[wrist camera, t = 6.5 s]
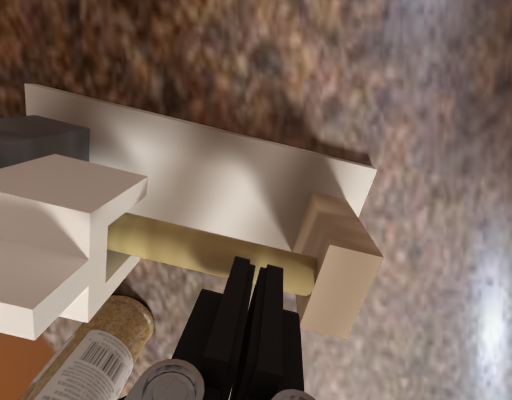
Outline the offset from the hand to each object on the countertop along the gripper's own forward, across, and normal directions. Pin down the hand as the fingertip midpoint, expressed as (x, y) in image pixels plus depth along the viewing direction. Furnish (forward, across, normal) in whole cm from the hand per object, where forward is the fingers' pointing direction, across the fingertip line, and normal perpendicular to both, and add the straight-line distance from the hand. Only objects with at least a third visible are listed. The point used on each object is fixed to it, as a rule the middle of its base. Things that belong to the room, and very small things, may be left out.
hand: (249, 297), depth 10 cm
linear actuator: (+8, +4, 0) cm, 9 cm away
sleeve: (+3, +7, 0) cm, 8 cm away
